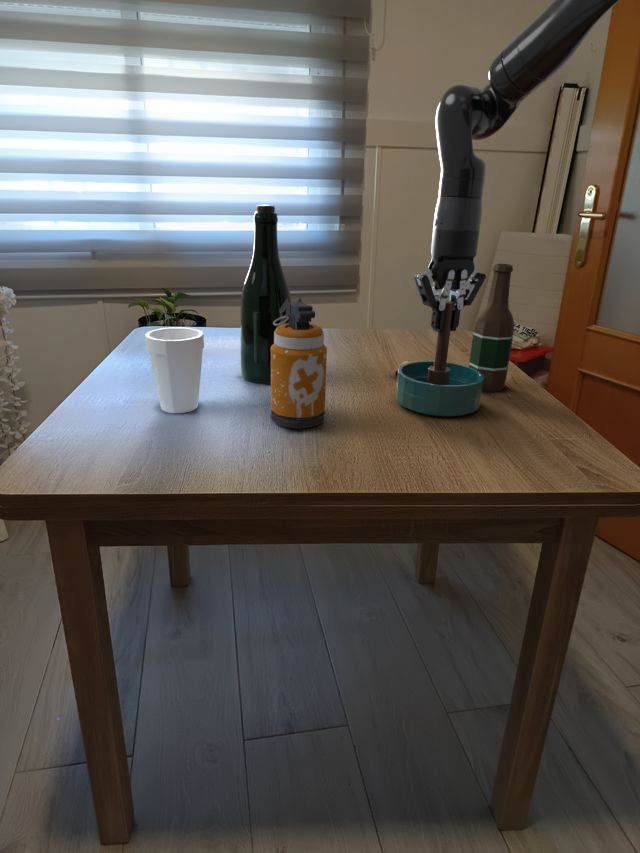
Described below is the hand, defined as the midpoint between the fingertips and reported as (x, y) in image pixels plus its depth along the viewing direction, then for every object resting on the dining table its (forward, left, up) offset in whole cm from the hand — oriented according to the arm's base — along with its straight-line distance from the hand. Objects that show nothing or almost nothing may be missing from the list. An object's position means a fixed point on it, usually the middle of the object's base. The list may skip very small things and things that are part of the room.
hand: (444, 330), depth 101 cm
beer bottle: (-3, -16, -14) cm, 22 cm away
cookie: (+10, -12, -14) cm, 21 cm away
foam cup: (+34, +32, -14) cm, 49 cm away
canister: (+15, +23, -14) cm, 31 cm away
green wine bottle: (+34, +9, -14) cm, 38 cm away
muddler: (0, 0, -11) cm, 11 cm away
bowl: (0, 0, -14) cm, 14 cm away
